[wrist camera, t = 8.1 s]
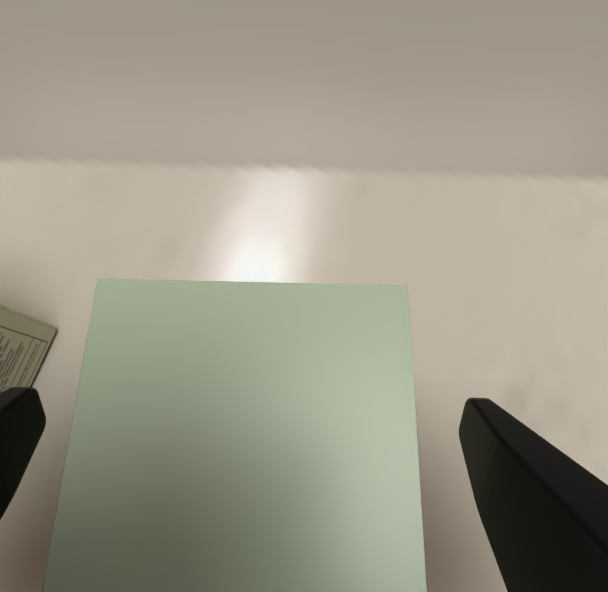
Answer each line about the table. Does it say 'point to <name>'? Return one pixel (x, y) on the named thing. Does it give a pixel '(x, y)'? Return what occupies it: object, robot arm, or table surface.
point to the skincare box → (21, 348)
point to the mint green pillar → (242, 442)
